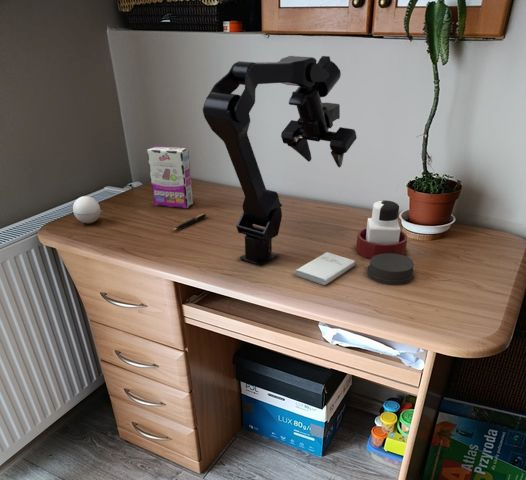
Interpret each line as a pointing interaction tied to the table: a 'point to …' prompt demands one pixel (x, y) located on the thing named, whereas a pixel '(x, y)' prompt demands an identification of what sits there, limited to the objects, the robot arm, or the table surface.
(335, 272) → the hard drive
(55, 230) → the table surface
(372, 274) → the stand
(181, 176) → the candy bar box
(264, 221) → the robot arm
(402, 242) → the tin
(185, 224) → the fountain pen
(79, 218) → the white sphere
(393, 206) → the medicine bottle
